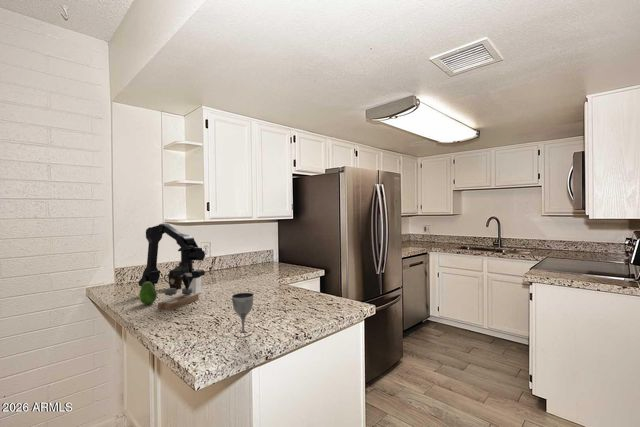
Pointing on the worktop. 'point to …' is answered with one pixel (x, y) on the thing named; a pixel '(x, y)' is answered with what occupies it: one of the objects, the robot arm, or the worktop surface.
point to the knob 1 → (170, 291)
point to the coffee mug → (174, 281)
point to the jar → (196, 285)
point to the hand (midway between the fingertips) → (187, 288)
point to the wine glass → (242, 305)
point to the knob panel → (177, 301)
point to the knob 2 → (187, 291)
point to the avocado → (148, 293)
